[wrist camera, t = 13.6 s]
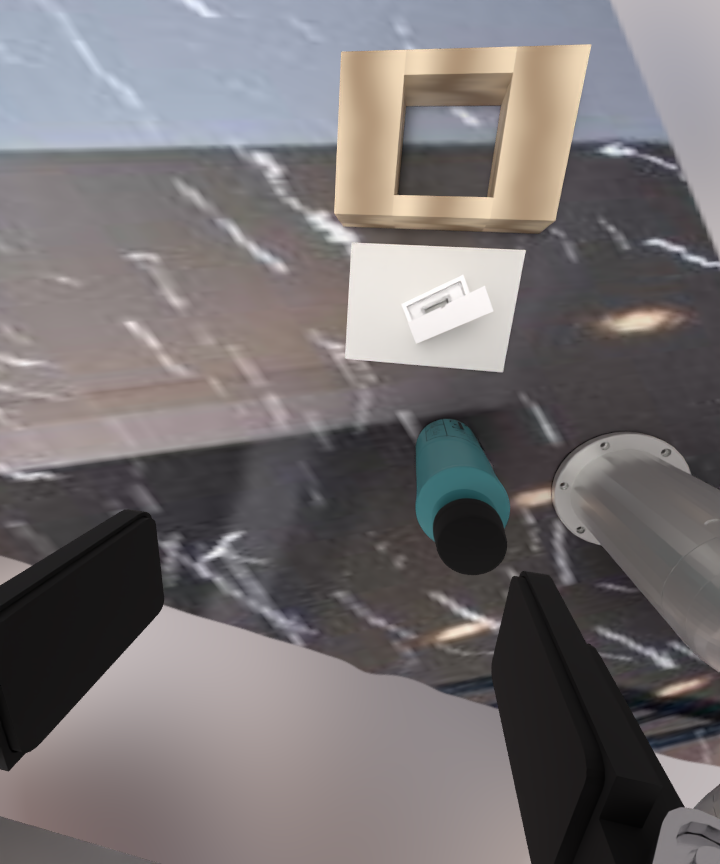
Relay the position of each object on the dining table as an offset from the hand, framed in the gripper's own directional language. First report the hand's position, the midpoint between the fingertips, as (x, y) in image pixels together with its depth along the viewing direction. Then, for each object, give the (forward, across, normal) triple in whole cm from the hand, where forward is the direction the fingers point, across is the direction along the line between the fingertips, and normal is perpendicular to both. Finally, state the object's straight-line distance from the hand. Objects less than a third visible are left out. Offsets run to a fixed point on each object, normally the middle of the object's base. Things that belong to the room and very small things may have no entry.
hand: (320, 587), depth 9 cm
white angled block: (+30, -3, -8) cm, 31 cm away
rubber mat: (+30, -2, -8) cm, 32 cm away
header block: (+30, -2, -21) cm, 37 cm away
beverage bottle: (+31, -6, +5) cm, 31 cm away
